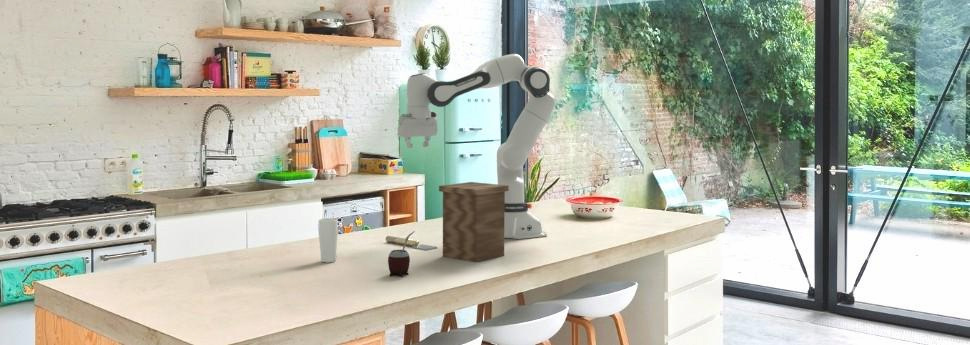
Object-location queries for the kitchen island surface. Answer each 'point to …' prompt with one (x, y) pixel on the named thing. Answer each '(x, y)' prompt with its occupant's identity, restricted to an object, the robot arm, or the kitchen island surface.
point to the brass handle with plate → (409, 243)
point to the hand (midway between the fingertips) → (417, 147)
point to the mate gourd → (399, 261)
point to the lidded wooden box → (473, 220)
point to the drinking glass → (328, 239)
